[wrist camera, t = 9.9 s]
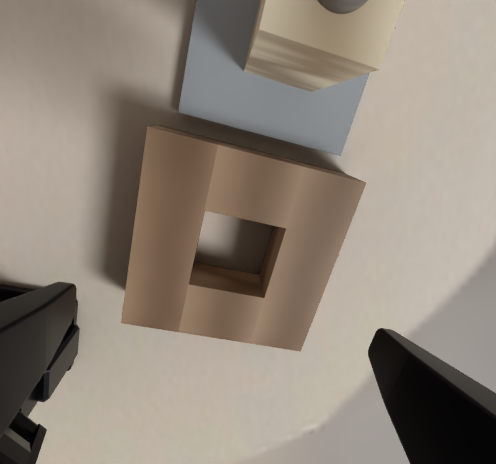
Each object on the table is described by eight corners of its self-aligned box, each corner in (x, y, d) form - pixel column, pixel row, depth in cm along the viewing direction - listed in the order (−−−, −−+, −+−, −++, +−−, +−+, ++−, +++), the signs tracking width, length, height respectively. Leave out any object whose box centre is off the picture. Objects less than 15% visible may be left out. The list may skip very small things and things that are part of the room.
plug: (243, 71, 16) (262, 18, 8) (263, -15, 15) (311, -188, 7) (311, 92, 17) (396, 63, 8) (336, 11, 16) (465, -117, 7)
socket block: (134, 296, 21) (121, 322, 19) (159, 125, 18) (147, 126, 15) (291, 323, 23) (300, 351, 20) (345, 173, 19) (366, 183, 16)
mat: (179, 112, 17) (178, 112, 17) (216, -108, 14) (215, -117, 14) (337, 154, 19) (340, 155, 18) (402, -35, 16) (409, -41, 15)
